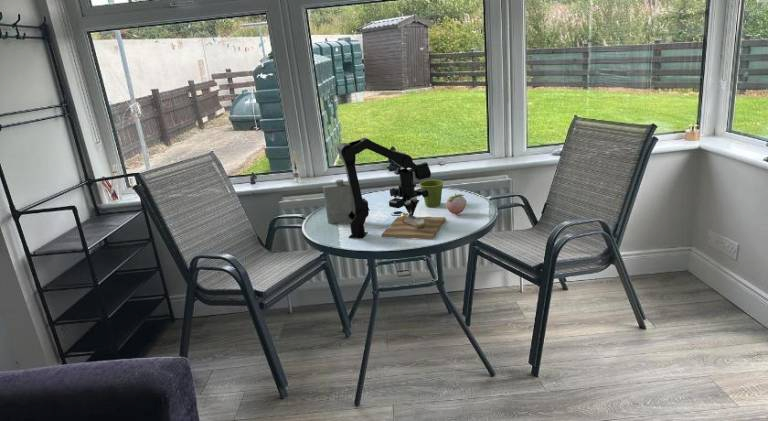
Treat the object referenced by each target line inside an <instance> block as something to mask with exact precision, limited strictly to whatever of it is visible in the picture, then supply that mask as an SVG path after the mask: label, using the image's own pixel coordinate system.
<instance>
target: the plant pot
mask: <svg viewBox="0 0 768 421" xmlns="http://www.w3.org/2000/svg"><path fill="white" fill-rule="evenodd" d="M444 184H445V182H444V181H443V180H441V179H428V180H423V181H421V182H419V184H418V185H419V186H420V189H426V190H427V191H428V193H429V196H427V197H425V198H424V197H423V200H424V205H425V206H426V207H427V208H439V207H440V206H441V204H442V193H443V188H444Z"/></svg>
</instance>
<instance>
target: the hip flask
mask: <svg viewBox="0 0 768 421" xmlns="http://www.w3.org/2000/svg"><path fill="white" fill-rule="evenodd" d="M322 190H323V197H324V199H323V200H324V205H325V211H326V218H327V224H330V225H331V224H341V223H342V224H344V223H345V224H347V223H350V222H351V221H350V220H349V219H348V217H347V216H348V215H349V213H350V212H351V211H352V205H351V203H352V195H351V191H350V187H349V183H344V179H341V178H340V179H336V180H335V184H331V185H330V184H329V185H324V186H322Z"/></svg>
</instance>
